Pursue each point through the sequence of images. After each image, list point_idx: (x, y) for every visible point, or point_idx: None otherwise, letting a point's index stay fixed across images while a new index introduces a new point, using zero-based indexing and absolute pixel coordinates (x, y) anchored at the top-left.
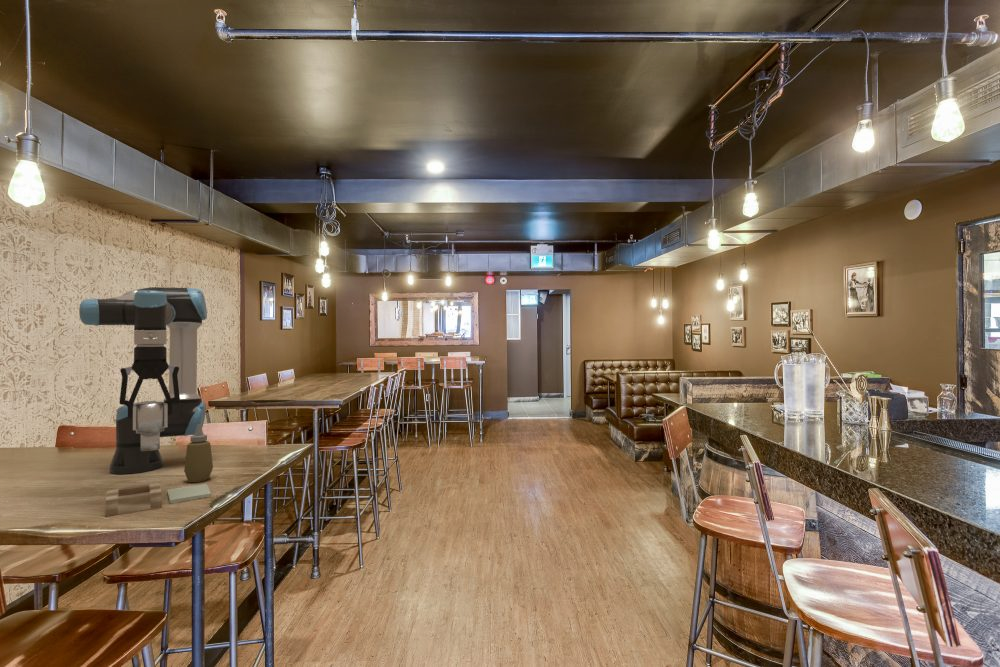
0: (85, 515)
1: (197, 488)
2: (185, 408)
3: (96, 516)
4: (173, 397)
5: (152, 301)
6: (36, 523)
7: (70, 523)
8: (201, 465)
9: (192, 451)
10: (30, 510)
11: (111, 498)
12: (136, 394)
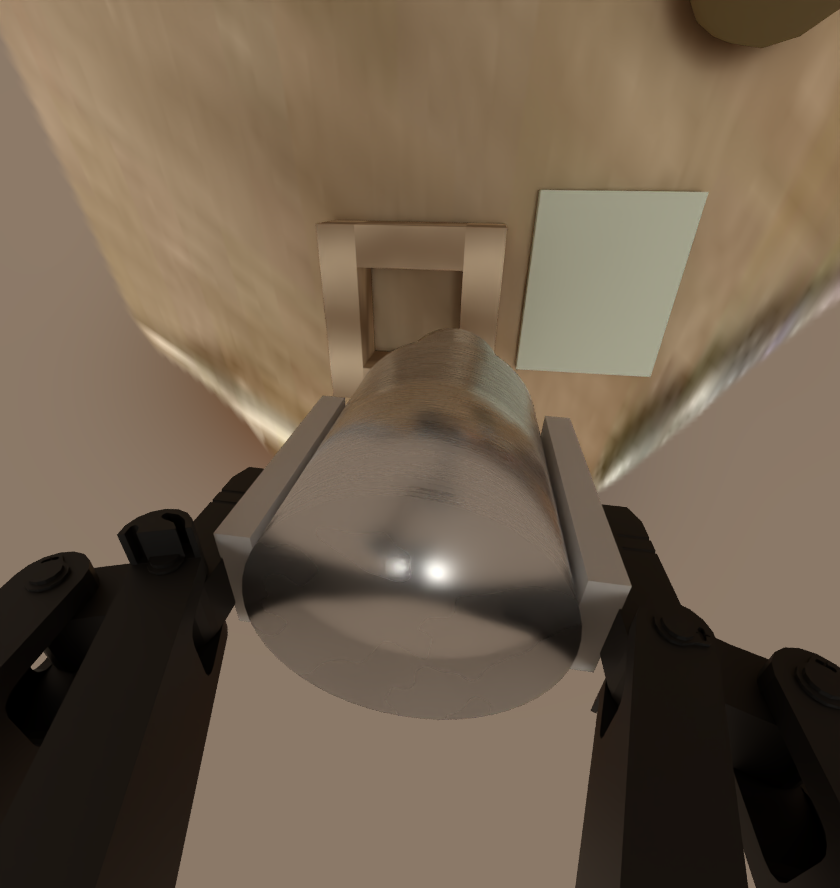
0: (293, 323)
1: (643, 262)
2: None
3: (324, 356)
4: (743, 729)
5: None
6: (186, 316)
7: (273, 378)
8: (790, 29)
9: None
10: (92, 109)
11: (346, 375)
12: (183, 799)
